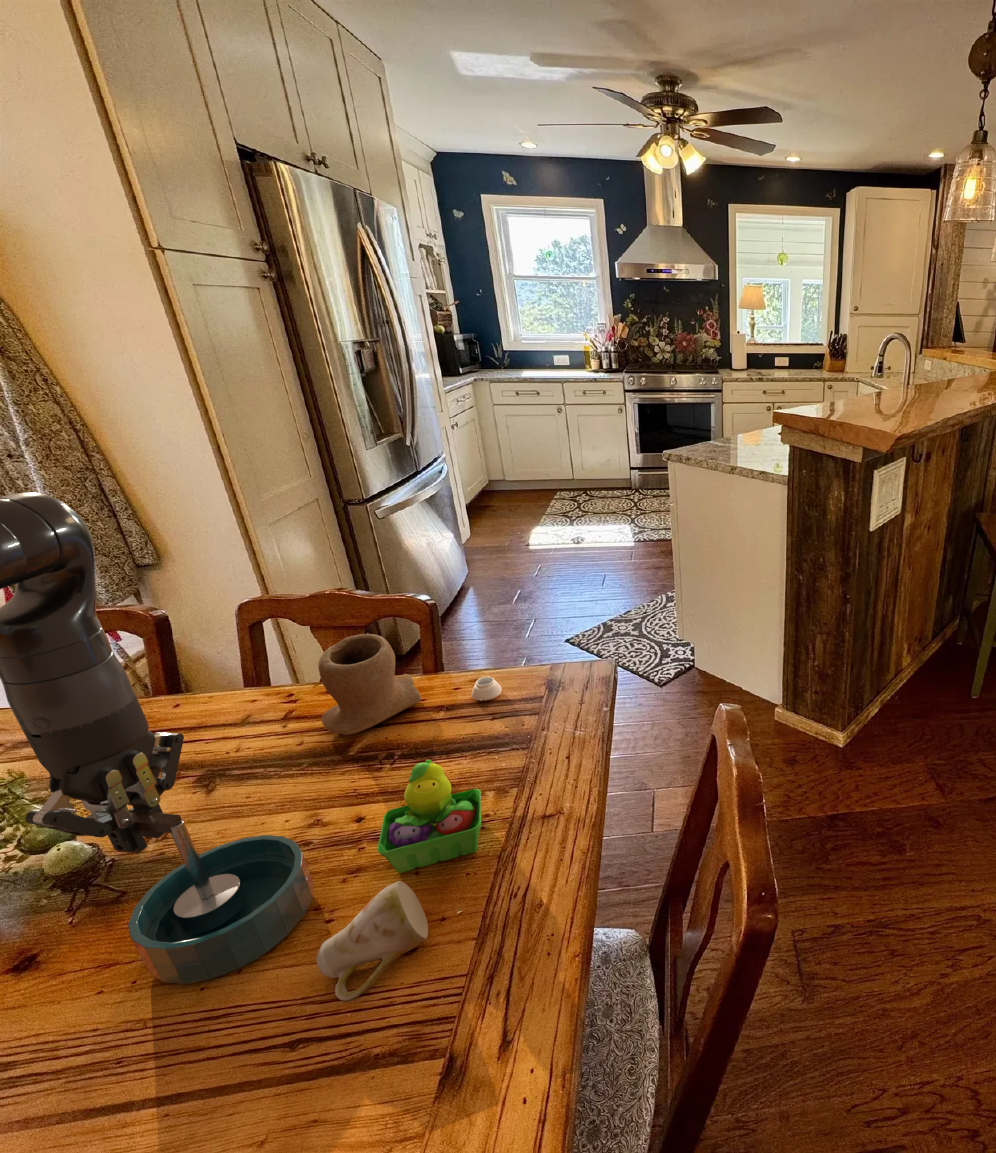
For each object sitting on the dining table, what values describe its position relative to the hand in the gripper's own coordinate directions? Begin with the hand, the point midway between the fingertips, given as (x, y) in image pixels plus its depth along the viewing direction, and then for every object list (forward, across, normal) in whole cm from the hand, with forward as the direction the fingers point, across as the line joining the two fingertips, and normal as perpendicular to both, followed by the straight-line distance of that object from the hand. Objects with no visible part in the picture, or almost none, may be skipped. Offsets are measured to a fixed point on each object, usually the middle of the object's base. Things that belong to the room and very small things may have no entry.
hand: (144, 842), depth 65 cm
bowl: (+12, 0, +6) cm, 13 cm away
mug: (+12, +2, +24) cm, 27 cm away
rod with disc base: (+10, 0, +1) cm, 10 cm away
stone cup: (+12, -39, -3) cm, 41 cm away
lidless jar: (+12, -47, +12) cm, 50 cm away
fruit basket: (+12, -13, +23) cm, 29 cm away
